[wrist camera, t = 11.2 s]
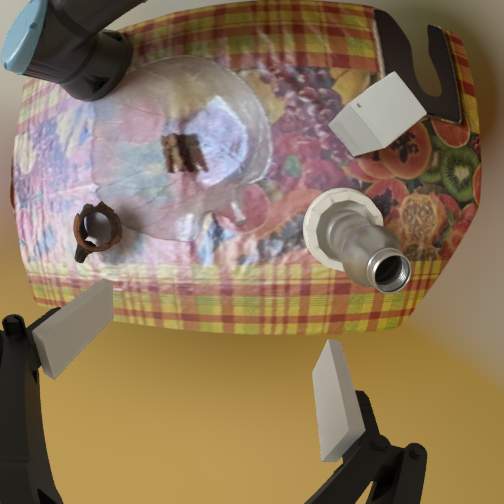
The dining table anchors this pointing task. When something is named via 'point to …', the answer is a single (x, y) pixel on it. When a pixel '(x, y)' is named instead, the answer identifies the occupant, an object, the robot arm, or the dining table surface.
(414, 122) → the small box
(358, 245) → the plastic bottle
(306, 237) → the bowl
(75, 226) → the broken clay pot
